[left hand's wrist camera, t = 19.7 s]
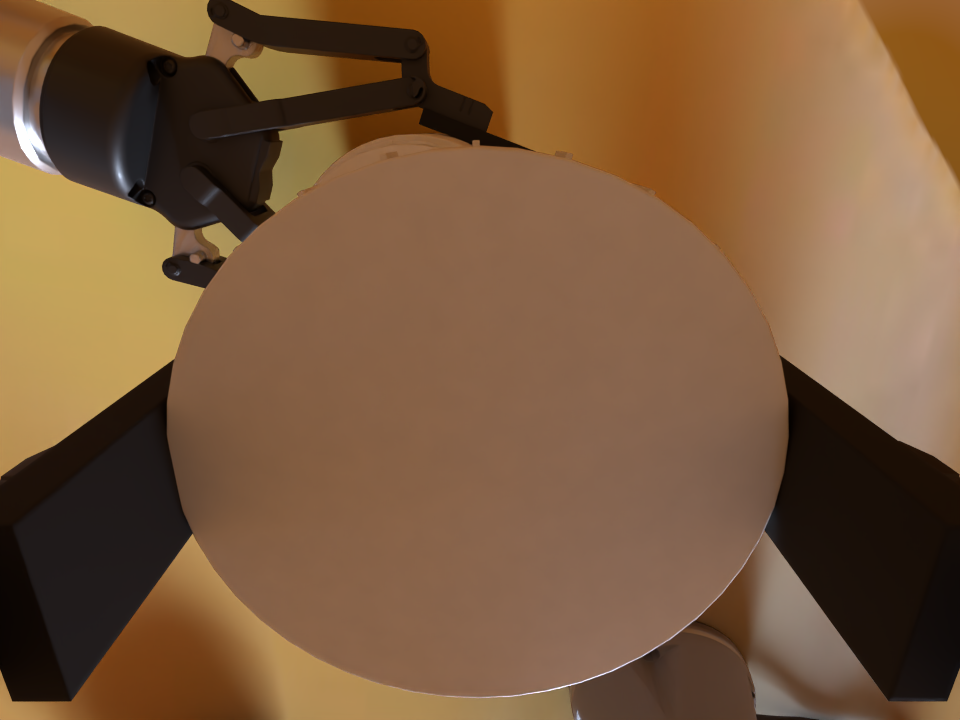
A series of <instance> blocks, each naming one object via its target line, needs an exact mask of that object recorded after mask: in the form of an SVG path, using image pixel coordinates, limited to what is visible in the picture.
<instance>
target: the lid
mask: <svg viewBox="0 0 960 720" xmlns="http://www.w3.org/2000/svg"><path fill="white" fill-rule="evenodd" d="M379 156H380V161H377V162H375V163H372V164H369V165H366V166H364V167H361V168H358V169H356V170H353V171H350V172H348V173H345V174H342V175H339V176H337V177H334V178H333V179H331V180H329V181H327V182H325V183H323V184H322V185H318V186H315V187H312V188H308V189H305V190H302V191H300V192H299V193H297V195H298V198H296V199H294V200H293V201H291V202H290V203H289V204H287V205H286V206H285V207H283V208H282V209H281V210H279V211H278V212H277V213H275V214H274V215H273V216H271V217H270V218H269V219H267V220H266V221H265V222H263V223H262V224H261V225H259V226H258V227H257V228H256V229H255V230H254V231H253V232H252V233H251V234H250V235H249V236H248V237H247V238H246V239H245V240H244V241H243V242H242V243H241V245H239V246H237V247H236V248H235V249H234V250H233V253H232V254H231V255H230V256H229V257H228V258H227V259H226V261H225V262H224V263H223V265H222V266H221V268H220V269H219V270H218V272H217V273H216V275H215V276H214V277H213V279H212V280H211V281H210V283H209V284H208V286H207V287H206V288H205V290H204V291H203V293H202V295H201V297H200V299H199V301H198V303H197V305H196V307H195V309H194V311H193V313H192V315H191V317H190V319H189V321H188V323H187V325H186V327H185V329H184V332H183V335H182V339H181V342H180V345H179V348H178V351H177V354H176V357H175V360H174V363H173V368H172V374H171V381H170V387H169V393H168V399H167V439H168V444H169V449H170V454H171V459H172V463H173V468H174V473H175V478H176V482H177V487H178V492H179V497H180V501H181V505H182V509H183V512H184V515H185V517H186V519H187V521H188V523H189V526H190V528H191V530H192V532H193V535H194V537H195V539H196V541H197V542H198V544H199V546H200V547H201V549H202V550H203V552H204V554H205V555H206V557H207V559H208V560H209V562H210V563H211V565H212V567H213V568H214V570H215V571H216V572H217V573H218V575H219V576H220V577H221V578H222V580H223V581H224V582H225V583H226V584H227V586H228V587H229V588H230V589H231V591H232V592H233V593H234V594H235V596H236V597H237V598H238V599H240V600H241V601H242V602H243V603H244V604H245V605H246V606H247V607H248V608H249V609H250V610H251V611H252V612H253V613H254V614H255V615H256V616H257V617H258V618H259V619H260V620H261V621H263V622H264V623H265V624H267V625H268V626H269V627H271V628H272V629H273V630H274V631H276V632H277V633H278V634H280V635H281V636H282V637H284V638H285V639H286V640H288V641H289V642H291V643H292V644H294V645H296V646H297V647H299V648H301V649H302V650H304V651H306V652H307V653H309V654H311V655H312V656H314V657H316V658H318V659H320V660H322V661H324V662H326V663H328V664H330V665H332V666H335V667H337V668H339V669H341V670H343V671H345V672H347V673H350V674H353V675H356V676H359V677H362V678H364V679H367V680H370V681H373V682H376V683H379V684H383V685H387V686H391V687H395V688H399V689H403V690H407V691H411V692H418V693H425V694H432V695H439V696H449V697H471V698H486V697H506V696H517V695H524V694H531V693H537V692H544V691H549V690H553V689H557V688H561V687H565V686H569V685H573V684H577V683H580V682H583V681H586V680H589V679H592V678H594V677H597V676H600V675H603V674H605V673H608V672H611V671H613V670H615V669H617V668H619V667H622V666H624V665H626V664H628V663H630V662H632V661H634V660H636V659H638V658H640V657H642V656H644V655H645V654H647V653H649V652H650V651H652V650H654V649H655V648H657V647H658V646H660V645H662V644H663V643H665V642H666V641H668V640H670V639H671V638H672V637H674V636H675V635H676V634H678V633H679V632H680V631H681V630H683V629H684V628H685V627H687V626H688V625H689V624H690V623H692V622H693V621H694V620H695V619H697V618H698V617H699V616H700V615H701V614H702V613H703V612H704V611H705V610H706V609H707V608H708V607H709V606H710V605H711V604H712V603H713V602H714V601H715V600H716V599H717V598H718V597H719V596H720V595H721V594H722V593H723V592H724V591H725V589H726V588H727V587H728V585H729V584H730V583H731V582H732V580H733V579H734V578H735V577H736V575H737V574H738V573H739V572H740V570H741V569H742V568H743V566H744V565H745V563H746V561H747V560H748V558H749V556H750V555H751V553H752V552H753V550H754V548H755V547H756V545H757V543H758V542H759V540H760V538H761V536H762V534H763V532H764V529H765V527H766V525H767V523H768V520H769V518H770V516H771V513H772V511H773V509H774V507H775V503H776V500H777V496H778V493H779V489H780V485H781V482H782V478H783V475H784V470H785V462H786V455H787V447H788V439H789V419H788V396H787V390H786V385H785V379H784V373H783V368H782V362H781V359H780V356H779V353H778V350H777V347H776V344H775V341H774V338H773V335H772V332H771V329H770V326H769V324H768V322H767V320H766V318H765V316H764V314H763V312H762V311H761V309H760V307H759V305H758V303H757V301H756V299H755V297H754V295H753V293H752V291H751V290H750V288H749V287H748V285H747V284H746V283H745V281H744V280H743V279H742V277H741V276H740V274H739V273H738V272H737V270H736V269H735V268H734V266H733V265H732V264H731V262H730V261H729V260H728V258H727V257H726V255H725V254H724V253H723V252H722V251H721V250H720V247H719V246H718V245H717V244H715V243H713V242H712V241H711V240H710V239H709V238H708V237H706V236H705V235H704V234H703V233H702V232H701V231H700V230H699V229H698V228H697V227H696V226H695V225H694V224H693V223H692V222H690V221H689V220H688V219H686V218H685V217H684V216H682V215H681V214H680V213H678V212H677V211H675V210H674V209H673V208H671V207H670V206H669V205H667V204H666V203H665V202H663V201H662V200H660V199H659V198H658V197H656V196H654V195H655V193H656V192H655V191H654V190H652V189H650V188H646V187H643V186H640V185H636V184H633V183H629V182H628V181H626V180H624V179H622V178H620V177H618V176H616V175H613V174H610V173H608V172H605V171H602V170H599V169H596V168H594V167H591V166H588V165H585V164H583V163H580V162H577V161H574V160H572V156H573V154H571V153H567V152H561V151H556V153H555V156H554V155H549V154H544V153H539V152H535V151H530V150H525V149H520V148H511V147H495V146H480V140H473V141H472V146H460V147H446V148H435V149H430V150H425V151H421V152H416V153H412V154H407V155H402V156H398V153H397V151H396V152H390V153H384V154H381V155H379Z"/></svg>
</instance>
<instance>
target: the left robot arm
mask: <svg viewBox="0 0 960 720" xmlns="http://www.w3.org/2000/svg"><path fill="white" fill-rule="evenodd" d="M779 356H780V355H779ZM780 359H781V362H782V368H783V373H784V379H785V385H786V390H787V396H788V419H789V439H788V447H787V455H786V462H785V470H784V475H783V478H782V482H781V485H780V489H779V493H778V496H777V500H776V503H775V507H774V509H773V511H772V513H771V516H770V518H769V520H768V523H767V525H766V527H765V529H764V530H765V531H766V533H767V534H768V536H769V537H770V538H771V540H772V541H773V543H774V544H775V545H776V547H777V548H778V549H779V551H780V552H781V554H782V555H783V556H784V558H785V559H786V560H787V562H788V563H789V565H790V566H791V567H792V569H793V570H794V571H795V573H796V574H797V576H798V577H799V578H800V580H801V581H802V583H803V584H804V585H805V587H806V588H807V589H808V591H809V592H810V594H811V595H812V596H813V598H814V599H815V600H816V602H817V603H818V605H819V606H820V607H821V609H822V610H823V611H824V613H825V614H826V616H827V617H828V618H829V620H830V621H831V623H832V624H833V625H834V627H835V628H836V629H837V631H838V632H839V634H840V635H841V636H842V638H843V639H844V640H845V642H846V643H847V645H848V646H849V647H850V649H851V650H852V652H853V653H854V654H855V656H856V657H857V658H858V660H859V661H860V663H861V664H862V665H863V667H864V668H865V669H866V671H867V672H868V674H869V675H870V676H871V678H872V679H873V680H874V682H875V683H876V685H877V686H878V687H879V689H880V690H881V692H882V693H883V694H884V696H885V697H886V698H887V700H888V701H947V700H948V698H949V695H950V692H951V690H952V687H953V684H954V682H955V679H956V677H957V674H958V671H959V669H960V477H959V474H958V473H957V472H955V471H954V470H952V469H951V468H950V467H948V466H947V465H945V464H944V463H942V462H941V461H940V460H938V459H937V458H935V457H934V456H932V455H930V454H927V453H925V452H923V451H921V450H919V449H916V448H914V447H912V446H910V445H908V444H905V443H903V442H901V441H897V440H896V439H895V438H893V437H892V436H890V435H889V434H888V433H886V432H885V431H884V430H882V429H881V428H879V427H878V426H877V425H875V424H874V423H873V422H871V421H870V420H868V419H867V418H866V417H864V416H863V415H862V414H860V413H859V412H857V411H856V410H855V409H853V408H852V407H851V406H849V405H848V404H846V403H845V402H844V401H842V400H841V399H839V398H838V397H837V396H835V395H834V394H833V393H831V392H830V391H828V390H827V389H826V388H824V387H823V386H822V385H820V384H819V383H817V382H816V381H815V380H813V379H812V378H811V377H809V376H808V375H806V374H805V373H804V372H802V371H801V370H800V369H798V368H797V367H795V366H794V365H793V364H791V363H790V362H789V361H787V360H786V359H784V358H783V357H782V356H780ZM174 360H175V359H174ZM174 360H172V361H171V362H170V363H168V364H167V365H166V366H164V367H163V368H161V369H160V370H159V371H157V372H156V373H155V374H153V375H152V376H150V377H149V378H148V379H146V380H145V381H144V382H142V383H141V384H139V385H138V386H137V387H135V388H134V389H132V390H131V391H130V392H128V393H127V394H126V395H124V396H123V397H121V398H120V399H119V400H117V401H116V402H115V403H113V404H112V405H110V406H109V407H108V408H106V409H105V410H104V411H102V412H101V413H99V414H98V415H97V416H95V417H94V418H93V419H91V420H90V421H88V422H87V423H86V424H84V425H83V426H81V427H80V428H79V429H77V430H76V431H75V432H73V433H72V434H70V435H69V436H68V437H66V438H65V439H64V440H62V441H61V442H59V443H58V444H57V445H55V446H53V447H51V448H49V449H47V450H44V451H42V452H40V453H38V454H36V455H33V456H31V457H29V458H27V459H25V460H24V461H22V462H21V463H20V464H18V465H17V466H15V467H14V468H13V469H11V470H10V471H8V472H7V473H5V474H4V475H3V476H1V480H0V670H1V673H2V675H3V678H4V681H5V683H6V686H7V688H8V691H9V694H10V696H11V699H12V701H72V699H73V698H74V696H75V695H76V694H77V692H78V691H79V690H80V688H81V687H82V685H83V684H84V683H85V681H86V680H87V679H88V677H89V676H90V674H91V673H92V672H93V670H94V669H95V668H96V666H97V665H98V663H99V662H100V661H101V659H102V658H103V656H104V655H105V654H106V652H107V651H108V650H109V648H110V647H111V645H112V644H113V643H114V641H115V640H116V639H117V637H118V636H119V634H120V633H121V632H122V630H123V629H124V627H125V626H126V625H127V623H128V622H129V621H130V619H131V618H132V616H133V615H134V614H135V612H136V611H137V610H138V608H139V607H140V605H141V604H142V603H143V601H144V600H145V599H146V597H147V596H148V594H149V593H150V592H151V590H152V589H153V587H154V586H155V585H156V583H157V582H158V581H159V579H160V578H161V576H162V575H163V574H164V572H165V571H166V570H167V568H168V567H169V565H170V564H171V563H172V561H173V560H174V559H175V557H176V556H177V554H178V553H179V552H180V550H181V549H182V547H183V546H184V545H185V543H186V542H187V541H188V539H189V538H190V536H191V535H192V534H193V532H192V530H191V528H190V526H189V523H188V521H187V519H186V517H185V515H184V512H183V509H182V505H181V501H180V497H179V492H178V487H177V482H176V478H175V473H174V468H173V463H172V459H171V454H170V449H169V444H168V439H167V399H168V393H169V387H170V381H171V374H172V368H173V363H174ZM569 692H570V700H571V706H572V712H573V716H574V719H575V720H817V719H811V718H804V717H790V716H770V715H759V714H756V712H755V707H756V698H755V689H754V685H753V681H752V678H751V674H750V672H749V669H748V667H747V665H746V663H745V661H744V659H743V657H742V655H741V654H740V652H739V650H738V649H737V647H736V646H735V645H734V644H733V643H732V642H731V640H730V639H728V638H727V637H726V636H725V635H723V634H722V633H720V632H719V631H717V630H715V629H713V628H711V627H709V626H707V625H704V624H701V623H698V622H695V621H693V622H692V623H690V624H689V625H688V626H687V627H685V628H684V629H683V630H681V631H680V632H679V633H678V634H676V635H675V636H674V637H672V638H671V639H670V640H668V641H666V642H665V643H663V644H662V645H660V646H658V647H657V648H655V649H654V650H652V651H650V652H649V653H647V654H645V655H644V656H642V657H640V658H638V659H636V660H634V661H632V662H630V663H628V664H626V665H624V666H622V667H619V668H617V669H615V670H613V671H611V672H608V673H605V674H603V675H600V676H597V677H594V678H592V679H589V680H586V681H583V682H580V683H577V684H573V685H570V691H569Z"/></svg>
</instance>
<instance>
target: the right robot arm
mask: <svg viewBox="0 0 960 720" xmlns="http://www.w3.org/2000/svg"><path fill="white" fill-rule="evenodd" d="M207 12H208V15H209V17H210V19H211V20H212V22H214V25H213V29H212V33H211V37H210V41H209V44H208V48H207V52H206V55H202V56H196V57H183V56H180V55H178V54H175V53H172V52H170V51H167V50H165V49H162V48H159V47H157V46H154V45H151V44H149V43H146V42H144V41H141V40H138V39H136V38H133V37H130V36H128V35H125V34H123V33H120V32H117V31H115V30H112V29H109V28H107V27H103V26H93V25H92V24H90V23H89V22H88V21H87V20H86V19H83V18H81V17H78V16H75V15H73V14H70V13H68V12H65V11H62V10H60V9H57V8H55V7H52V6H49V5H47V4H44V3H42V2H39V1H36V0H0V156H2V157H5V158H7V159H10V160H13V161H16V162H19V163H21V164H24V165H27V166H30V167H33V168H35V169H38V170H41V171H44V172H46V173H49V174H56V175H63V176H64V177H66V178H67V179H69V180H71V181H73V182H76V183H79V184H82V185H85V186H87V187H90V188H93V189H96V190H99V191H102V192H105V193H108V194H110V195H113V196H116V197H119V198H122V199H125V200H127V201H130V202H133V203H136V204H139V205H142V206H145V207H149V208H151V209H154V210H156V211H157V212H159V213H160V214H162V215H163V216H164V217H165V218H166V219H167V220H168V221H169V222H170V223H171V224H173V225H174V226H175V235H174V247H173V256H172V257H170V258H168V259H166V260H165V261H164V262H163V265H162V270H163V272H164V274H165V275H166V276H167V277H168V278H169V279H172V280H175V281H179V282H183V283H187V284H190V285H194V286H198V287H202V288H206V287H207V286H208V284H209V283H210V281H211V280H212V279H213V277H214V276H215V275H216V273H217V272H218V270H219V269H220V268H221V266H222V265H223V263H224V262H225V261H226V259H227V258H225V257H222V256H220V253H219V249H218V247H216V246H215V245H214V244H212V243H210V242H208V241H207V240H206V239H205V238H204V236H203V234H202V228H203V227H207V226H210V225H213V224H216V223H220V222H222V223H223V224H224V225H225V226H226V227H227V228H228V229H229V230H230V231H231V232H232V233H233V234H234V235H235V236H236V237H237V238H238V239H239V240H240V241H242V242H243V241H244V240H245V239H246V238H247V237H248V236H249V235H250V234H251V233H252V232H253V231H254V230H255V229H256V228H257V227H258V226H259V225H261V224H262V223H263V222H265V221H266V220H267V219H269V218H270V217H271V216H273V215H274V214H275V212H274V211H273V210H272V209H271V208H270V207H269V206H268V205H267V204H266V203H265V201H266V200H269V199H270V195H271V191H272V186H273V181H272V169H273V167H274V165H275V163H276V161H277V159H278V158H279V156H280V151H281V147H282V142H283V141H281V140H279V133H278V131H283V130H288V129H294V128H300V127H303V126H309V125H314V124H320V123H326V122H332V121H338V120H344V119H350V118H355V117H361V116H367V115H373V114H379V113H385V112H391V111H396V110H402V109H408V108H414V107H420V108H423V112H422V115H421V119H420V122H419V124H420V125H423V126H426V127H428V128H431V129H433V130H436V131H438V132H441V133H444V134H446V135H449V136H451V137H454V138H457V139H459V140H462V141H464V142H467V143H469V144H472V141H473V140H480V146H495V147H511V148H520V149H525V150H530V149H528V148H525V147H523V146H520V145H518V144H515V143H513V142H510V141H507V140H505V139H502V138H500V137H497V136H495V135H492V134H490V133H487V132H486V131H487V128H488V125H489V122H490V119H491V117H492V114H493V112H492V111H491V110H490V109H489V108H488V107H487V106H486V105H485V104H483V103H481V102H478V101H476V100H473V99H471V98H468V97H466V96H463V95H461V94H458V93H456V92H453V91H451V90H448V89H446V88H443V87H441V86H438V85H436V84H435V83H434V82H433V81H432V79H431V76H430V68H429V54H430V50H429V46H428V44H427V42H426V40H425V39H424V37H423V35H422V34H421V33H419V32H418V31H416V30H411V29H400V28H390V27H380V26H369V25H359V24H349V23H338V22H328V21H317V20H307V19H297V18H286V17H276V16H265V15H259V14H257V13H255V12H253V11H251V10H249V9H247V8H245V7H243V6H241V5H239V4H237V3H235V2H233V1H231V0H209V2H208V5H207ZM264 46H265V47H267V48H270V49H274V50H277V51H282V52H288V53H298V54H309V55H319V56H330V57H340V58H351V59H362V60H372V61H383V62H393V63H401V64H402V78H399V79H394V80H388V81H382V82H376V83H371V84H365V85H359V86H353V87H348V88H342V89H336V90H330V91H325V92H319V93H313V94H307V95H302V96H296V97H290V98H284V99H273V100H266V101H261V102H259V101H258V99H257V98H256V97H255V95H254V94H253V93H252V91H251V90H250V89H249V87H248V86H247V85H246V83H245V82H244V81H243V79H242V78H241V77H240V75H239V74H238V73H237V71H236V70H235V69H234V68H233V66H234V64H235V62H236V61H237V60H238V59H240V58H244V57H245V58H250V59H254V58H257V57H258V56H259V55H260V54H261V52H262V50H263V47H264ZM530 151H533V150H530ZM535 152H536V151H535Z"/></svg>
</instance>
